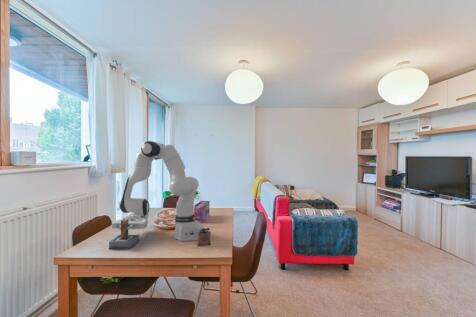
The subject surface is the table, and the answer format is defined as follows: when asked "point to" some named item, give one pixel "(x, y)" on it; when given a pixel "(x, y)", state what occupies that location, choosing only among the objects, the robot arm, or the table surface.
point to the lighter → (204, 237)
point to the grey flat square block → (124, 242)
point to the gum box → (201, 211)
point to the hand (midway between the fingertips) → (123, 228)
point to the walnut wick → (124, 229)
